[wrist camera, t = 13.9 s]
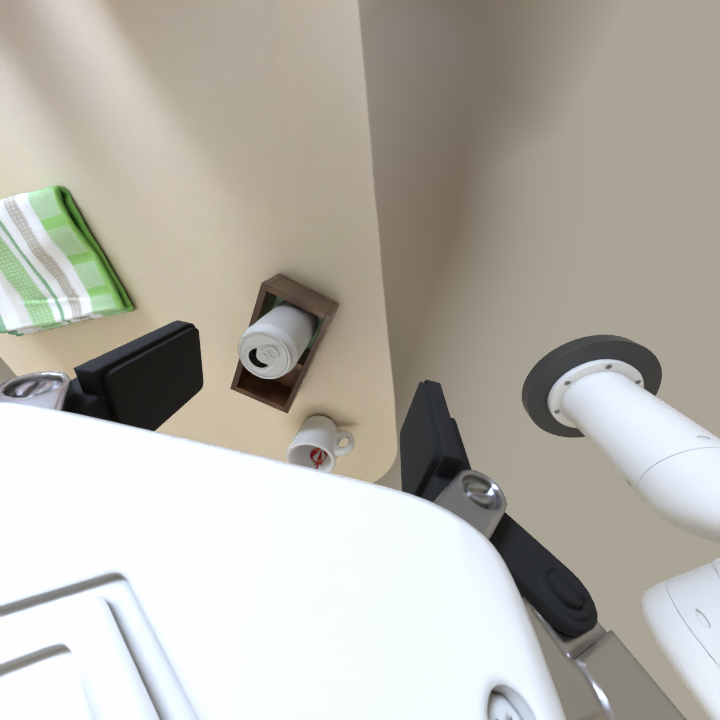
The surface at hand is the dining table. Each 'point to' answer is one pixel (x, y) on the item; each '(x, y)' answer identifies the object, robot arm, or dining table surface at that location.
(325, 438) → the cup
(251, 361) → the beverage can
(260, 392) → the wooden compartment box
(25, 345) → the dining table surface
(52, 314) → the dish towel
